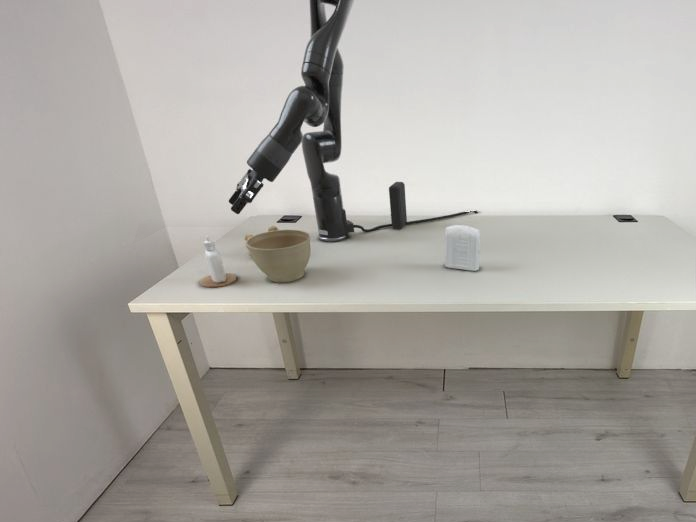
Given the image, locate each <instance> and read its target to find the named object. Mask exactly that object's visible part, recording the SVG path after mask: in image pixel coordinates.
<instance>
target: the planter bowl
mask: <svg viewBox="0 0 696 522" xmlns="http://www.w3.org/2000/svg"><path fill="white" fill-rule="evenodd" d="M245 243H246V244H245V245H247V247H248V248H247V247H246V248H247V250H248V252H250V255H251V256H250V257H251V259H252V261H253V263H254V264H255V265H256V267H257V268H258V269H259V270H260V271H261V272H262V273H264V274H265V275H266V276H267V278H268V280H269V281H271V282H274V283H289V282H294V281H297V280H300V279H301V278H302V277H303V276H305V270H306V268H307V266H308V264H309V261H310V257H311V250H312V249H311V235H310V234H309V233H308V232H306V231H304V230H300V229H299V230H297V229H279V230H276V231H270V232H268V231H266V232H261V233H258V234H254V235H253V237H251V238H249V239H248V240H247V241H246V240H245Z"/></svg>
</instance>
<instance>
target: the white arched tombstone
mask: <svg viewBox="0 0 696 522" xmlns="http://www.w3.org/2000/svg"><path fill="white" fill-rule="evenodd" d="M480 252H481V232H480V230H479V229H478V228H476V227H472V226H469V225H463V224H457V225H456V224H455V225H450V226H447V227H446V228H445V232H444V253H445V254H444V263H445V264H444V265H445V267H446V268H450V269H456V270H457V269H458V270H464V271H473V272H477V271H479V269H480V255H481V253H480Z"/></svg>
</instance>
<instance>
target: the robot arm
mask: <svg viewBox="0 0 696 522" xmlns="http://www.w3.org/2000/svg"><path fill="white" fill-rule="evenodd" d="M308 1H309V21H310V22H309V24H310V39H309V40H308V42H307V44H306V47H305V50H304V54H303V59H302V64H301V69H300V76H301V79H302V81H303V83H304V85H298V86H297V87H294V89H292V90H291V92H289V94H288V95H287V97H286V99H285V102H284V104H283V107H282V109H281V111H280V114H279V118H278V121H277V122H276V123H275V125H274V126H273V127H272V128H271V130H270V131H269V132H268V134H267V135H266V136H265V137H264V138H263V139H262V140H261V141H260V143H259V144H258V146H257V147H256V148H255V149H254V151H253V152H252V153H251V155H250V156H249V158H248V159H247V160H246V164H247V165H248V167H250V168H248V169H247V172H245V174H244V175H243V177H242V178H241V179H240V181H238V183H237V184H236V187H235V188H236V189H235V191H234V192H233V193H232V195H231V196H230V197H229V198H228V203H229V204H230V205H231V206H230V211H231V212H233V213H234V214H236V215H240V214H241V212H242V211H243V209H245V207H246V206H247V205H248V204H252V202H253V200H254V199H255V198H256V197H257V195H258V193H259V192H260V191H261V190H262V188H263V187H264V183H263V181H264V179H265V180H267V181H268V182H270V183H273V182H274V181H275V180H276V179H277V177H278V176H279V175H280V173H281V172H282V171H283V169H284V168H285V167H286V166H287V164H288V162H290V159H291V158H292V156H293V154H294V153H295V152H296V150H297V149H298V148H299V146H300V145H301V151H302V155H303V160H304V164H305V169H306V175H307V177H308V179H309V182H310V188H311V195H312V201H313V206H314V212H315V219H316V225H317V232H318V239H319V240H320V241H323V242H339V241H343V240H346V239H349V237H350V236H349V234H350V233H351V234H352V233H355V229H356V228H357V229H359V230H361V231H362V232H364V233H370V232H375V231H377V230H379V229H380V230H381V229H385V228H390V227H392V224H391V223H388V224H382V225H381V224H380V225H378V226H375V227H372V228H369V229H367V228H364V226H362V225H359V224H354V223H353V222H352V221H351V220H349V219H347V213H346V209H345V208H344V201H343V194H342V188H341V187H342V186H341V179H340V177H339V175H338V174H335V173H330V172H328V171H326V169H325V165H324V164H330V163H334V162H337V161H338V160H340V158H341V154H342V147H343V146H342V144H343V143H342V96H343V85H344V70H345V69H344V60H343V57H342V54H341V52H340V50H339V48H338V46H339V43H340V41H341V38H342V36H343V34H344V31H345V28H346V25H347V22H348V20H349V16H350V14H351V11H352V9H353V5H354V2H355V0H308ZM326 5H329V6H332V7H335V8H334V10H333V12H332V14H331V15H330V17H329V19H327V14H326ZM304 123H305V124H306V125H307V126H309V127H311V128H316V127H320V126H322V125H323V128H322V130H319V131H318V130H317V131H309V132H305V133H304V134H303V132H302V126H303V125H304ZM471 212H472V213H475V214H478V213H479V211H478V210H476V211H470V212H465V211H462V212H457V213H452V214H448V215H441V216H436V217H430V218H424V219H418V220H417V219H416V220H409V221H407V222H405V225H404V226H406V225H412V224H420V223H427V222H433V221H438V220H445V219H449V218H454V217H458V216H462V215H467V214H470V213H471ZM392 228H393V227H392Z"/></svg>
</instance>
